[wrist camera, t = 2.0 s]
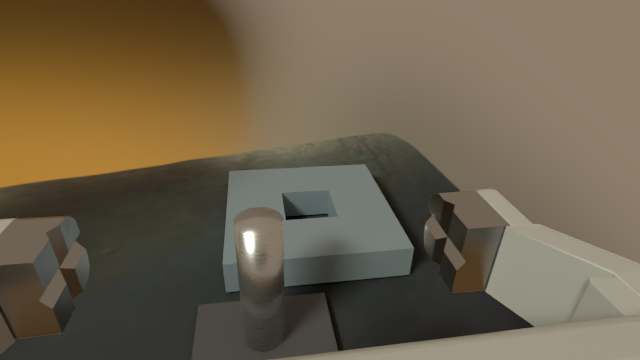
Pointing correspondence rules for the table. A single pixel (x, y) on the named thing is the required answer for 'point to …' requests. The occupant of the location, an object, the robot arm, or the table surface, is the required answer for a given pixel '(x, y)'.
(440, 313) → the table surface
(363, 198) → the grey square hole board
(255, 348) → the steel pin
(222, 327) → the rubber mat
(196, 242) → the table surface
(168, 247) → the table surface
